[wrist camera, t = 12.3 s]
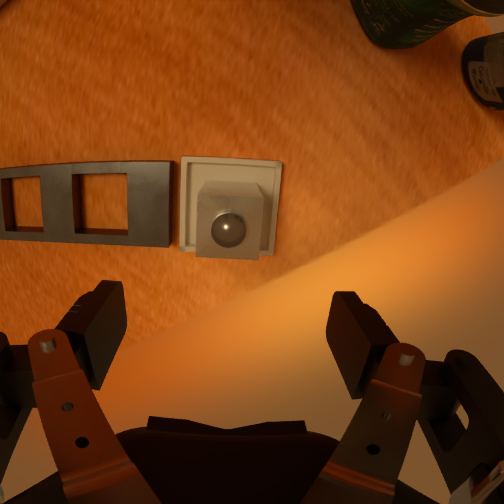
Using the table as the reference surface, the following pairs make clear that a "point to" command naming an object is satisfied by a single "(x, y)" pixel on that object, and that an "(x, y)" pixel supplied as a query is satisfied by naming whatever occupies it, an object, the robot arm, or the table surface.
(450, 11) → the coffee jar
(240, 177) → the parts tray
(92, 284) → the table surface
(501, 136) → the table surface
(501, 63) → the canister
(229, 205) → the grey rectangular block
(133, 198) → the rack rail
